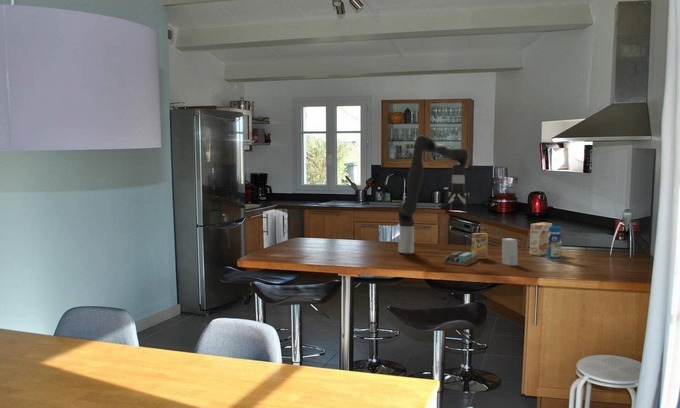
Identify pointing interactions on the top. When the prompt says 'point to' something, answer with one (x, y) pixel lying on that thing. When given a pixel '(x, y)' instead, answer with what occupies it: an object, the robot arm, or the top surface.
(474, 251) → the candy box
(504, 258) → the skincare box
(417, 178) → the robot arm
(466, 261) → the comb rack
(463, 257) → the teal stick
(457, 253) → the charcoal stick
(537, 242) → the coffeecake box
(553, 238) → the beverage bottle
